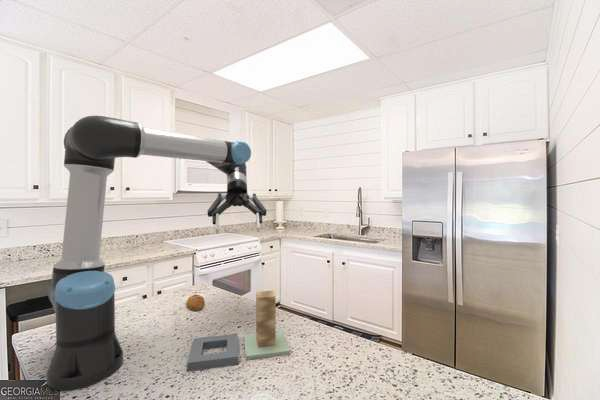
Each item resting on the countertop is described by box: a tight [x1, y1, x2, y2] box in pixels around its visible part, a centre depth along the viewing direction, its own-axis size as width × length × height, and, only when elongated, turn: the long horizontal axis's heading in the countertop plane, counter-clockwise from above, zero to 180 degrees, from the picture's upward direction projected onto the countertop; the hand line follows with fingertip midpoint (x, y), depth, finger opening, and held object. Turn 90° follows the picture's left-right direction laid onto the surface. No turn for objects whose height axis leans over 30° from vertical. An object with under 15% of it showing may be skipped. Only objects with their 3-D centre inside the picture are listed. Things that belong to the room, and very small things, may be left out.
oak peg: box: [255, 290, 277, 347], centre depth 83 cm, size 5×5×14 cm
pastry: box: [185, 294, 206, 312], centre depth 111 cm, size 9×7×4 cm
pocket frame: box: [186, 333, 240, 372], centre depth 78 cm, size 12×12×2 cm
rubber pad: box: [243, 329, 291, 361], centre depth 83 cm, size 12×12×1 cm
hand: (238, 230), depth 95 cm, fingers open, 13 cm apart
